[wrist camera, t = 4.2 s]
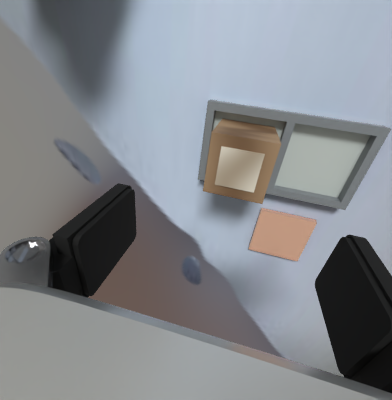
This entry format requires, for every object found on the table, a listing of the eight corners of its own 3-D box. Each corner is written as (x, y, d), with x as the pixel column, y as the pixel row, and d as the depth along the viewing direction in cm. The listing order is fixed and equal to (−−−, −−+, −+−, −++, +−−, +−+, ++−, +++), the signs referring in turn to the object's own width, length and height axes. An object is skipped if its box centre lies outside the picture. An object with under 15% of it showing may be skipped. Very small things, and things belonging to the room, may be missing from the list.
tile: (315, 219, 24) (316, 222, 24) (296, 257, 27) (297, 261, 27) (261, 207, 25) (261, 210, 24) (248, 246, 28) (248, 249, 28)
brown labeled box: (275, 127, 20) (281, 144, 15) (260, 175, 23) (262, 204, 18) (222, 118, 21) (211, 132, 16) (214, 166, 24) (202, 191, 18)
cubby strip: (383, 125, 18) (391, 128, 17) (340, 203, 23) (345, 210, 21) (210, 99, 21) (208, 100, 20) (200, 174, 25) (197, 179, 24)
